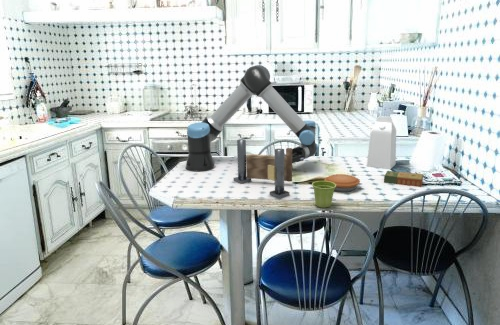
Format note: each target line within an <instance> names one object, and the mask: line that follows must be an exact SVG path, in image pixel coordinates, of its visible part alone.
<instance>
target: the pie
mask: <svg viewBox="0 0 500 325" xmlns="http://www.w3.org/2000/svg"><path fill="white" fill-rule="evenodd" d="M323 181H329V182H333V183H335V184H336V187H335V190H334V191H335V192H340V193H344V192H346V193H348V192H353V191H354V190H355V189H356V188H357V187H358V185H359V184H360V182H361V180H360V179H359V178H358V177H356V176H353V175H350V174H343V173H340V174H339V173H337V174H332V175H331V174H330V175H329V176H327V177H325V178H324V180H323Z"/></svg>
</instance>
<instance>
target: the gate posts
mask: <svg viewBox="0 0 500 325" xmlns="http://www.w3.org/2000/svg"><path fill="white" fill-rule="evenodd" d="M246 143H247V141H246V139H243V138H239V139H237V140H236V144H237V146H236V147H237V149H236V151H237V153H236V155H237V177H236V176H235V177H233V182H234V183H237V184H240V185H242V184H248V183H251V182H252V178H247V163H246V155H247V144H246ZM284 153H285V148H275V149H274V156H275V166H272V165H268V179H270V180H269V181H273V182H274V190H271V191H269V196H270V197H273V198H276V199H278V200H280V199H283V198H287V197H290V191H287V190H285V181H284Z"/></svg>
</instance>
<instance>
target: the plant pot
mask: <svg viewBox="0 0 500 325" xmlns="http://www.w3.org/2000/svg"><path fill="white" fill-rule="evenodd" d="M311 186H312V189H313V192H314V203H315V206H317V207H318V208H324V209H325V208H327V207H329V208H330V207H331V206H332V204H333V203H332V202H333V196H334V190H335V187H336V184H335V183H333V182H329V181H324V180H317V181H314V182H312V183H311Z"/></svg>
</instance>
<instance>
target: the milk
mask: <svg viewBox="0 0 500 325" xmlns="http://www.w3.org/2000/svg"><path fill="white" fill-rule="evenodd" d="M369 135H370V136H369V142H368V151H367V152H368V153H367V160H366V167H368V168H376V169H381V170H382V169H384V170H391V169H392V168H393V167H395V165H396V162H397V161H396V159H397V156H396V155H397V128H396V126H395V124H394V122H393V119H392V116H385V115H384V116H382V115H378V116H377V118H376V120H375V122H374V124H373V126H372V128H371V130H370V134H369Z"/></svg>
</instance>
